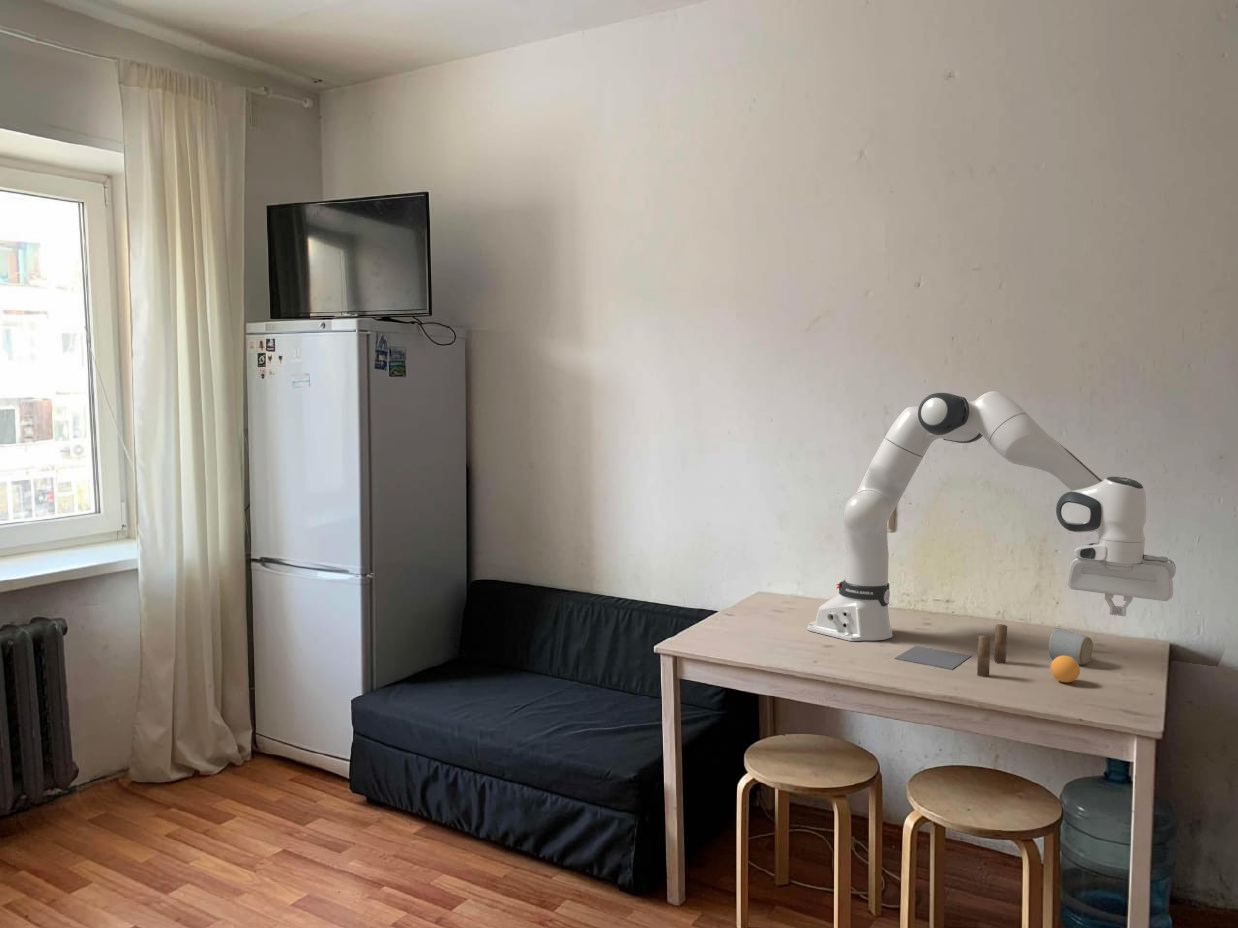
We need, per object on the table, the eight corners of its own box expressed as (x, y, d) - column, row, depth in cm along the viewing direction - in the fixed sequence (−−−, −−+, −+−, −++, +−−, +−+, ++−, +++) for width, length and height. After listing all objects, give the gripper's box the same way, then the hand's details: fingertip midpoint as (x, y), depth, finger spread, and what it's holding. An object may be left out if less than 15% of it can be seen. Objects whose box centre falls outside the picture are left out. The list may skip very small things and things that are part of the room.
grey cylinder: (1082, 668, 220) (1084, 637, 219) (1046, 661, 226) (1048, 630, 225) (1098, 660, 227) (1100, 629, 227) (1063, 653, 233) (1065, 623, 233)
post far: (992, 662, 225) (994, 625, 224) (996, 659, 227) (997, 623, 226) (1003, 664, 223) (1005, 627, 223) (1007, 661, 225) (1008, 625, 225)
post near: (975, 675, 215) (977, 637, 214) (979, 672, 217) (980, 634, 216) (987, 677, 213) (988, 639, 212) (990, 674, 215) (992, 636, 214)
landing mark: (894, 658, 228) (894, 657, 228) (915, 646, 238) (915, 645, 238) (952, 669, 219) (952, 668, 219) (971, 656, 230) (971, 655, 230)
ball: (1047, 682, 210) (1048, 656, 209) (1053, 675, 214) (1054, 650, 214) (1076, 687, 206) (1077, 661, 205) (1082, 681, 211) (1083, 655, 210)
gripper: (1178, 555, 197) (1174, 619, 199) (1073, 545, 210) (1071, 605, 211) (1173, 560, 193) (1170, 625, 194) (1067, 549, 205) (1064, 610, 206)
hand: (1117, 614), depth 203 cm, fingers closed
